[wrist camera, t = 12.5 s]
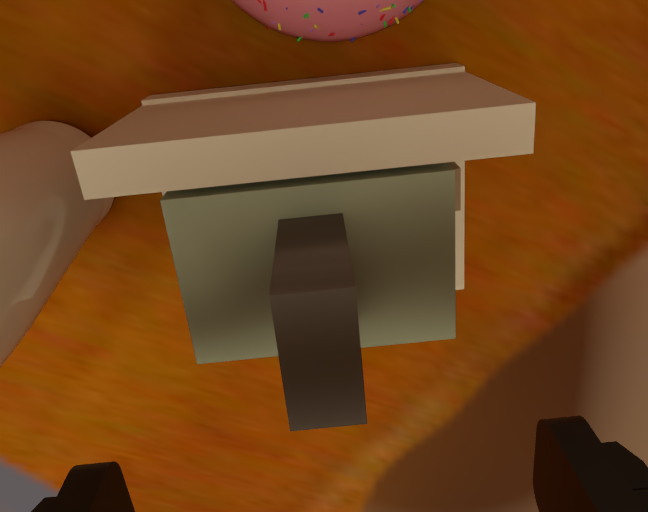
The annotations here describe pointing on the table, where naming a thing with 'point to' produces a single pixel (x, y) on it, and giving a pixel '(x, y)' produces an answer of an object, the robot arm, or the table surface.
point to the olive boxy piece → (317, 276)
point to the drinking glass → (39, 221)
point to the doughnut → (327, 16)
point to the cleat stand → (309, 133)
